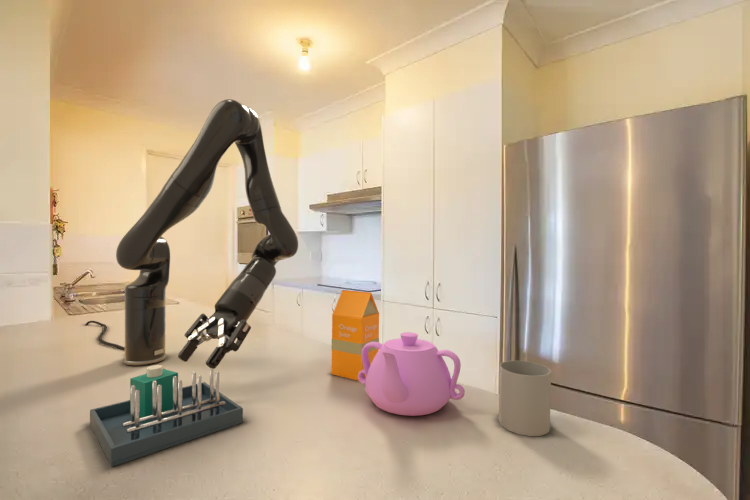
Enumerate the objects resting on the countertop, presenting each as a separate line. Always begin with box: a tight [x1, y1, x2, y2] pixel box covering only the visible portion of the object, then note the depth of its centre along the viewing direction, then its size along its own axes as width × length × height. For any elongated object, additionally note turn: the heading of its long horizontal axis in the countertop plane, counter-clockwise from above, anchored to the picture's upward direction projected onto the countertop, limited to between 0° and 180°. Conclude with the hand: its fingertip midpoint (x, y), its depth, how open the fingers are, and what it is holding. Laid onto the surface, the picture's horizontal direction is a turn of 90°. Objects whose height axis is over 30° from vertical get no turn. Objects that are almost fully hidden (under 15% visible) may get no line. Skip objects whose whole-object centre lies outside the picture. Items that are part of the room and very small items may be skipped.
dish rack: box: [123, 368, 225, 441], centre depth 62 cm, size 3×15×9 cm, turn 135°
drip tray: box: [89, 381, 244, 468], centre depth 66 cm, size 17×19×3 cm
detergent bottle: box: [129, 364, 179, 424], centre depth 68 cm, size 4×6×8 cm
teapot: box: [357, 331, 466, 417], centre depth 73 cm, size 22×22×14 cm
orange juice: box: [331, 289, 380, 382], centre depth 93 cm, size 8×9×20 cm
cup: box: [498, 360, 552, 437], centre depth 67 cm, size 8×8×10 cm
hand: (195, 363), depth 75 cm, fingers open, 8 cm apart
